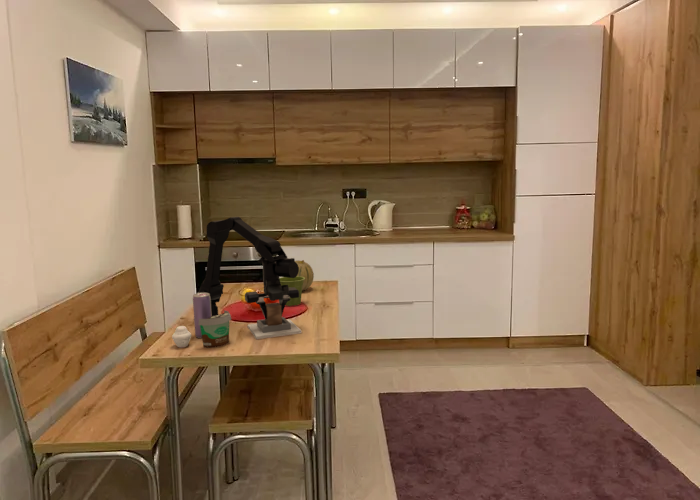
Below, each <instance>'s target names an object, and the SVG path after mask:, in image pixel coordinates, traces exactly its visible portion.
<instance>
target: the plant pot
mask: <svg viewBox="0 0 700 500" xmlns="http://www.w3.org/2000/svg"><path fill="white" fill-rule="evenodd" d="M279 278H280V283H281V286H282V285H288V287H289V288H292V287H294V288H296V289H297V290H298V291H299V298H290V297H289V298H290V299H291V300H290V301H288V302H287V303H286V307H292V306H295V305H296V306H298V305H301V303H302V302H301V301H302V293H303V291H302V286H303V281H304V279H305V278H304V277H299V276H296V277H295V278H287V277H279ZM296 306H295V307H296Z"/></svg>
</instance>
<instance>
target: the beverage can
mask: <svg viewBox="0 0 700 500" xmlns="http://www.w3.org/2000/svg"><path fill="white" fill-rule="evenodd" d="M192 308H193V320H194V323H193V324H194V333H195V334H194V335H195V337H196V338H197V339H202V334H201V328H200V325H198V324H199V318H200V319H207V318H209V317H211V316H212V312H211V297H210V294H209V293H199V292H197V293H194V294H193V295H192Z"/></svg>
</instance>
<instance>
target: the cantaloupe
mask: <svg viewBox="0 0 700 500" xmlns="http://www.w3.org/2000/svg"><path fill="white" fill-rule="evenodd" d="M295 262H296V263H297V265H298V267H299V272H298V275H297V276H299V277H304V278H305V279H304V281H303V286H302V292H304V291H306V290H307V289H309V288H310V287H311V286H312V284H313V282H314V277H315V276H314V275H315V274H314V270H313V268H312V266H311V264H310V263H308V262H306V261H305V260H304V259H303V260H295Z"/></svg>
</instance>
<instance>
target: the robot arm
mask: <svg viewBox="0 0 700 500" xmlns="http://www.w3.org/2000/svg"><path fill="white" fill-rule="evenodd" d="M230 231H234V232H236V234H238V235H239V236H240V237H242V238H243V239H245V240H246V241H247V242H249V243H250V244H252V246H253V247H254V249H255V251H256V252H257V253H258V255H259V256H260V258H259V259H258V260H257V263H258V264H262V282H263V292H262V293H258V292H257V291H256V290H255V291H248V292H247V291H246V292H245V293H244V300H245V302H246V303H247V304H254V303H255V304H256V305H259V307H260V310H261V311H262V315H263V316H264V319H267V313H266V306H265V304H267V303H266V301H265V299H269V301H271V302H273V301H278V303H279V304H280V305H281V311H282V315H283V313H284V310H285V308H286V307H285V305H286V303H287V302H288V301H290V300H291V299H290V298H299V291H298V290H297V289H296V288H294V287H292V288H289V287H288V285H282V286H281V283H280V278H282V277H287V278H295V277H296V276H297V275H298V272H299V267H298V265H297V263H296V262H295V261H296V260H295V257H291V258H290V257H289V258H288V256H287V254H286V253H285V251H284V249H283V247H282V246H281V243H280V242H279V240H277V239H275V238H274V237H269V236H267V235H264V234H262V233H261V232H259V231H258V230H256V229H255V228H253V227H252V226H251V225H249V224H248V223H247V222H246V221H244V220H243V218H242V217H240V216H231V217H228V218H227V219H226V218H225V219H221V220H220V219H219V220H212V221H209V222H208V223H207V225H206V238H207V239H208V242H209V246H208V256H207V264H206V273H205V278H204V280H203V281H202V283H201V284H200V286H199V287H200V288H199V291H198V293H209V294H210V297H211V312H212V316H214V315H219V307H218V306H217V303H219V302H220V301H221V297H222V295H224V287H225V285H224V284H223V283H221V281H220V274H221V273H220V272H221V267H222V266H221V264H222V258H223V257H222V256H223V249H224V244H225V242H226V241H227V240H228V239H229V235H230ZM289 297H290V298H289Z"/></svg>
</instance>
